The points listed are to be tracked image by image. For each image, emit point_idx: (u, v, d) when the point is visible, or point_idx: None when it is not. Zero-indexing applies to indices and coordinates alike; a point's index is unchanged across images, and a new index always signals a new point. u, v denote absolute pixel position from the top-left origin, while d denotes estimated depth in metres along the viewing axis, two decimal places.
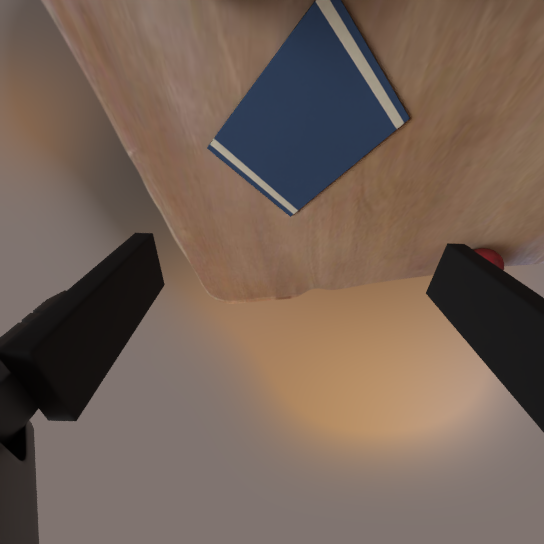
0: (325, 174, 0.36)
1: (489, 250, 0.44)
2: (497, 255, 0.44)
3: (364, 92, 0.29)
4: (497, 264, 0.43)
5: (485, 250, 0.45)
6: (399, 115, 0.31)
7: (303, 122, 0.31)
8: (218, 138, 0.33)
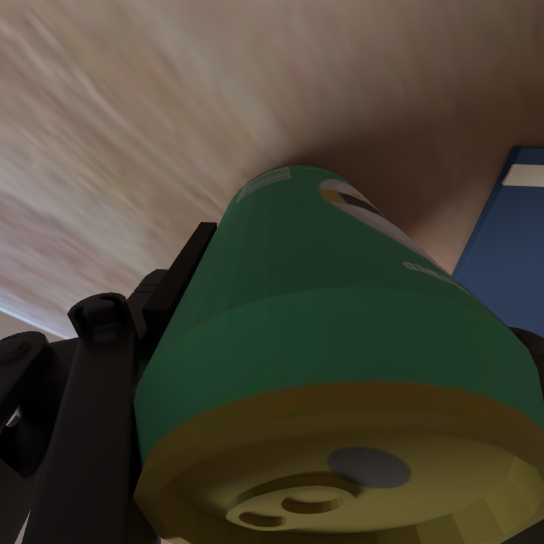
0: None
1: None
2: None
3: None
4: None
5: None
6: None
7: None
8: None
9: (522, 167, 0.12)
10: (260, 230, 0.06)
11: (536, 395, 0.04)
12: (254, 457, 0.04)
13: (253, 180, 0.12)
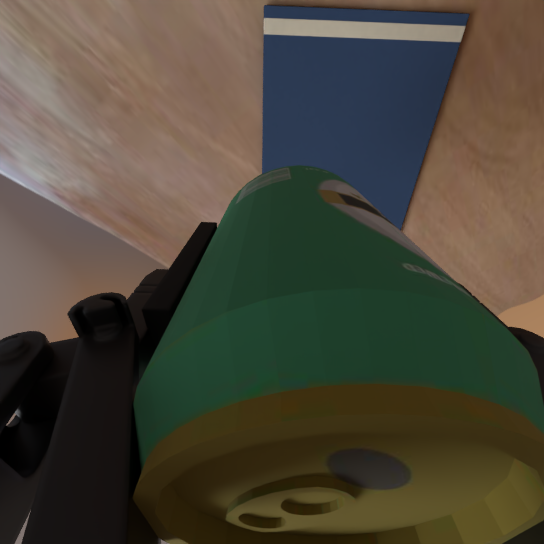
0: (403, 169, 0.26)
1: None
2: None
3: (380, 50, 0.21)
4: None
5: None
6: (451, 25, 0.20)
7: (334, 142, 0.24)
8: None
9: (270, 19, 0.20)
10: (259, 231, 0.06)
11: (536, 397, 0.04)
12: (254, 458, 0.04)
13: (253, 180, 0.12)
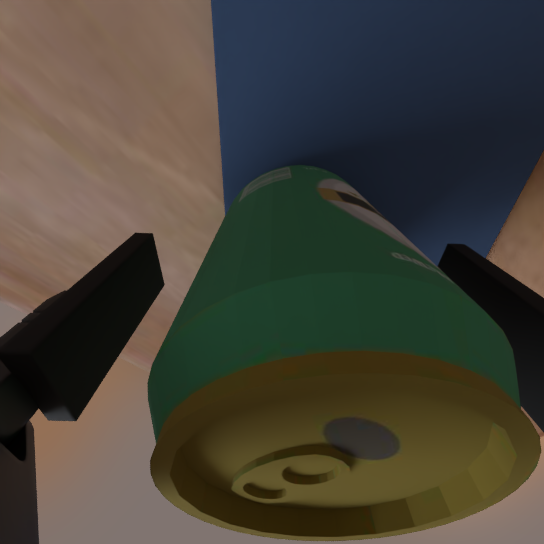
0: (486, 197, 0.14)
1: None
2: None
3: None
4: None
5: None
6: None
7: (360, 145, 0.13)
8: None
9: None
10: (262, 225, 0.06)
11: (507, 369, 0.04)
12: (258, 427, 0.05)
13: (255, 180, 0.12)
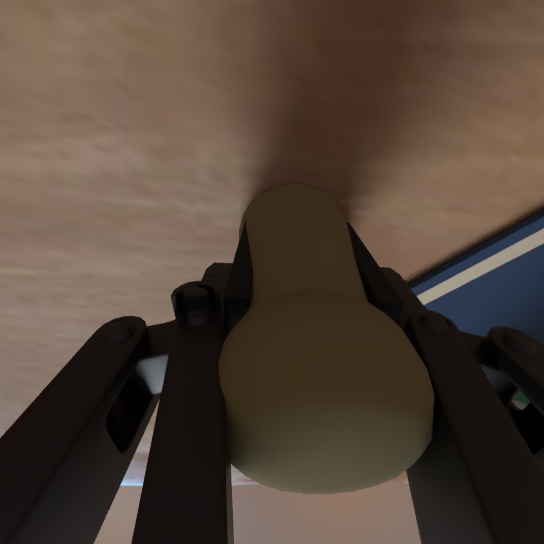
0: None
1: None
2: None
3: (494, 278, 0.15)
4: None
5: None
6: None
7: None
8: None
9: None
10: None
11: None
12: None
13: None
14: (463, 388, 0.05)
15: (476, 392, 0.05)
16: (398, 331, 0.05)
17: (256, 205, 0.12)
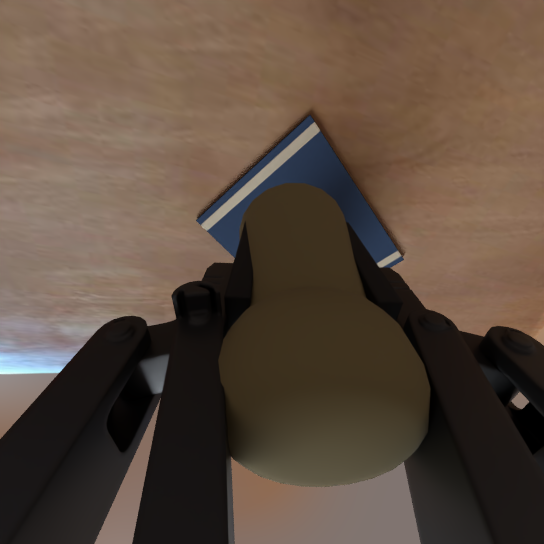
0: (357, 217, 0.29)
1: None
2: None
3: (273, 181, 0.27)
4: None
5: None
6: (304, 130, 0.24)
7: None
8: None
9: (204, 223, 0.29)
10: None
11: None
12: None
13: None
14: (462, 388, 0.05)
15: (475, 392, 0.05)
16: (395, 326, 0.06)
17: (256, 204, 0.13)
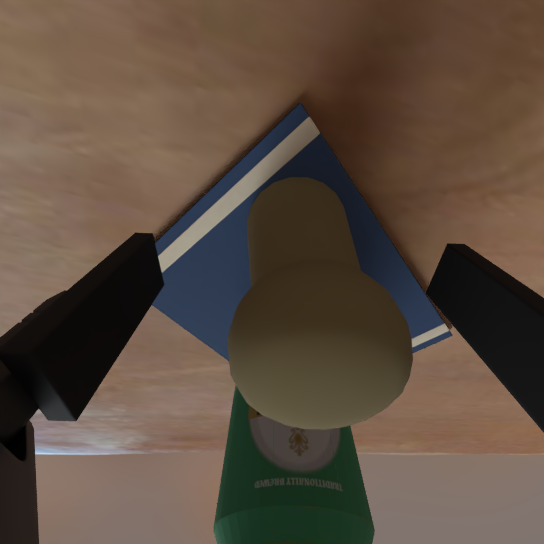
0: (381, 277, 0.17)
1: None
2: None
3: (239, 220, 0.15)
4: None
5: None
6: (290, 132, 0.13)
7: None
8: None
9: None
10: (227, 457, 0.14)
11: (302, 528, 0.10)
12: None
13: None
14: None
15: None
16: (384, 290, 0.07)
17: (263, 196, 0.14)
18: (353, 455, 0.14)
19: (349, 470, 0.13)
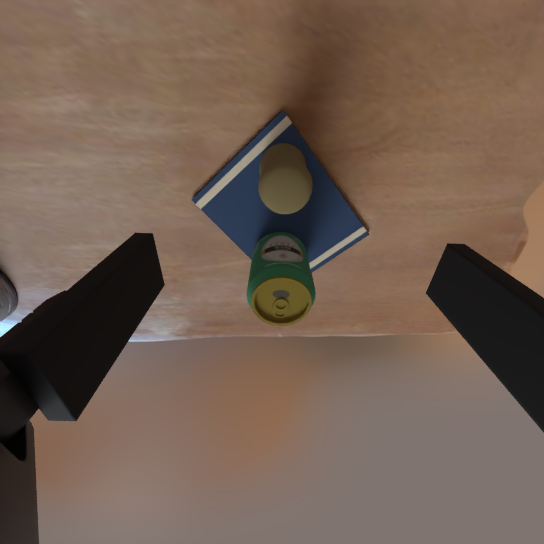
0: (326, 197, 0.34)
1: None
2: None
3: (255, 165, 0.32)
4: None
5: None
6: (279, 122, 0.30)
7: (273, 218, 0.36)
8: None
9: (198, 202, 0.35)
10: (251, 271, 0.31)
11: (283, 272, 0.27)
12: (265, 301, 0.29)
13: (253, 251, 0.37)
14: None
15: None
16: (303, 164, 0.23)
17: (267, 151, 0.30)
18: (308, 268, 0.31)
19: (305, 267, 0.30)
